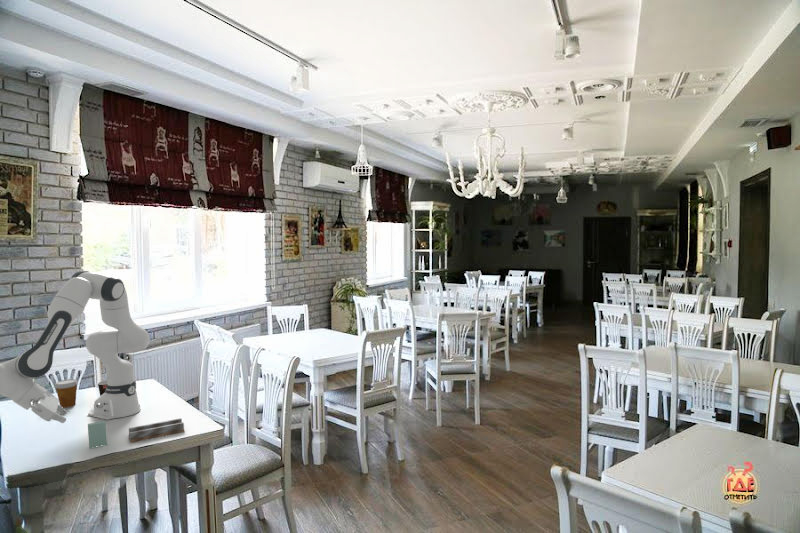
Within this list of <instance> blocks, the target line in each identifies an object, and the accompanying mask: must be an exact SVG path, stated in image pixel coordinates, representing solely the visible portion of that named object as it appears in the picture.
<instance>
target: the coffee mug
mask: <svg viewBox="0 0 800 533" xmlns="http://www.w3.org/2000/svg"><path fill="white" fill-rule="evenodd" d="M107 384H108V383H107V379H106V380H102V381H99V382H97V387H98V392H99V397H100V396H101V395H102V394H104V393H105V389H106V388H104V387H105V385H107ZM103 386H104V387H103Z"/></svg>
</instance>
